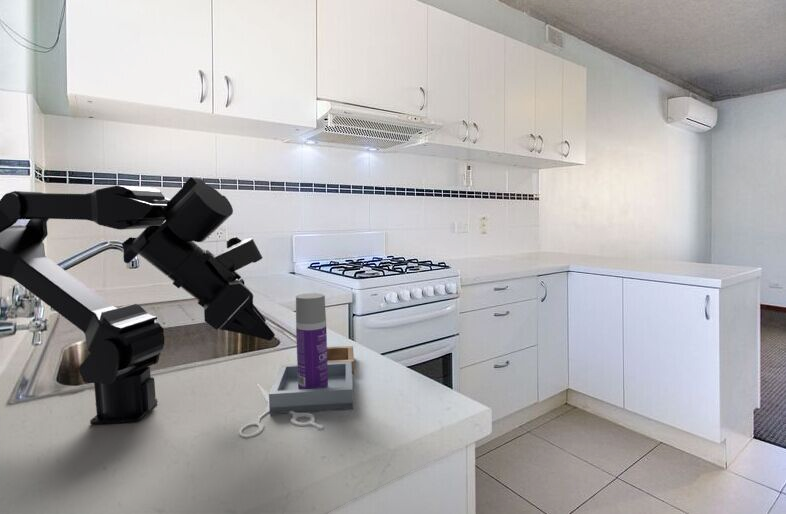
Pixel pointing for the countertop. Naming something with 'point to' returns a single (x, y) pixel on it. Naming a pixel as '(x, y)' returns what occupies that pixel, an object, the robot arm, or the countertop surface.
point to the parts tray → (312, 391)
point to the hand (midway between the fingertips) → (267, 329)
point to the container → (311, 341)
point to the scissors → (257, 422)
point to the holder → (341, 355)
